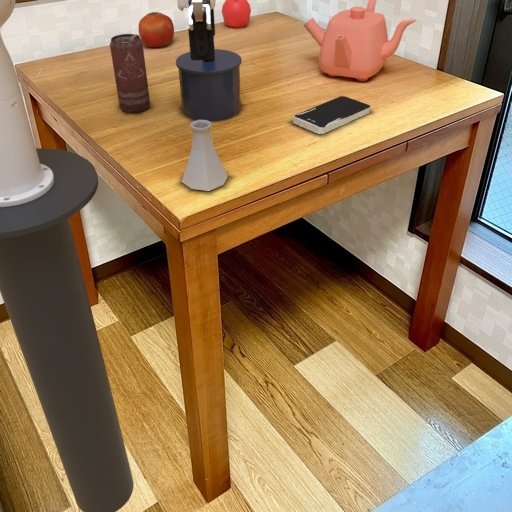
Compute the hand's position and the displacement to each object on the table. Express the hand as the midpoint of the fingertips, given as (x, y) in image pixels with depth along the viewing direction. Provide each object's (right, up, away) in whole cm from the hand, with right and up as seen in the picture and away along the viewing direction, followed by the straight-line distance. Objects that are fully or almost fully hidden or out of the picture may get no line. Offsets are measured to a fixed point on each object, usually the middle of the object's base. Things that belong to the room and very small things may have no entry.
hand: (203, 47), depth 83 cm
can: (-17, +1, +38) cm, 42 cm away
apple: (+2, +34, +81) cm, 88 cm away
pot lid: (-2, +8, +31) cm, 32 cm away
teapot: (+30, +13, +53) cm, 62 cm away
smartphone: (+22, -2, +33) cm, 40 cm away
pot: (-2, 0, +37) cm, 37 cm away
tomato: (-18, +25, +69) cm, 75 cm away
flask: (-1, -17, +14) cm, 22 cm away
